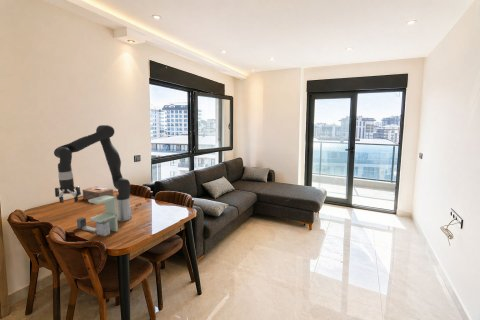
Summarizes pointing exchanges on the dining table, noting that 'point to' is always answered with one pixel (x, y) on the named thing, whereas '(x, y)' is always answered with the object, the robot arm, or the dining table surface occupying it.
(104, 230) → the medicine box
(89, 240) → the dining table surface
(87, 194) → the tissue box cover
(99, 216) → the shelf unit
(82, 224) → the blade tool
